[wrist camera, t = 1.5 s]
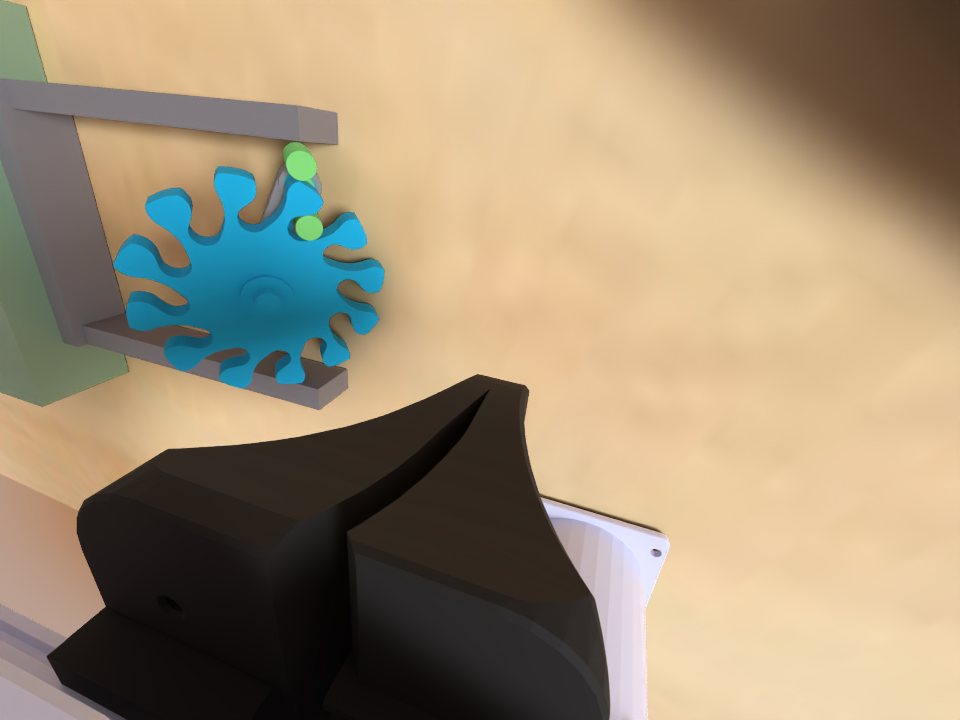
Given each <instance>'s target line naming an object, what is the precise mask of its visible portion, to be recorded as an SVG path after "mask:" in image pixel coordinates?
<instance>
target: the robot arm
mask: <svg viewBox="0 0 960 720" xmlns="http://www.w3.org/2000/svg"><path fill="white" fill-rule="evenodd" d="M528 396H529V390H528V388H527V387H526V386H525V385H521V384H517V383H513V382H508V381H504V380H500V379H496V378H492V377H487V376H483V375H479V374H477V375H475V376H472V377H470V378H468V379H466V380H464V381H462V382H460V383H458V384H456V385H453V386H451V387H449V388H447V389H445V390H443V391H441V392H439V393H437V394H435V395H432V396H430V397H428V398H426V399H424V400H421V401H419V402H416V403H414V404H411V405H409V406H407V407H404V408H402V409H399V410H397V411H394V412H392V413H389V414H386V415H383V416H380V417H377V418H374V419H371V420H368V421H364V422H361V423H358V424H354V425H351V426H347V427H343V428H338V429H333V430H329V431H324V432H320V433H315V434H310V435H306V436H301V437H295V438H288V439H282V440H275V441H267V442H259V443H251V444H241V445H230V446H214V447H199V448H182V449H167V450H165V451H164V452H162V453H160V454H159V455H157V456H155V457H154V458H152V459H151V460H149V461H147V462H146V463H144V464H142V465H141V466H139V467H138V468H136V469H134V470H133V471H131V472H129V473H128V474H126V475H125V476H123V477H121V478H120V479H118V480H117V481H115V482H113V483H112V484H110V485H108V486H107V487H105V488H104V489H102V490H100V491H99V492H97V493H95V494H94V495H92V496H91V497H89V498H87V499H86V500H84V502H83V504H82V506H81V508H80V510H79V512H78V516H77V535H78V538H79V541H80V545H81V548H82V551H83V553H84V556H85V558H86V560H87V563H88V565H89V567H90V570H91V572H92V574H93V577H94V579H95V582H96V584H97V586H98V589H99V591H100V594H101V596H102V598H103V601H104V603H105V605H106V607H105V608H104V609H102V610H101V611H100V612H99V613H98V614H97V615H95V616H94V617H93V618H92V619H90V620H89V621H88V622H87V623H86V624H84V625H83V626H82V627H81V628H80V629H78V630H77V631H76V632H75V633H74V634H72V635H71V636H70V637H69V638H66V637H64V636H62V635H60V634H58V633H56V632H54V631H52V630H50V629H48V628H46V627H44V626H42V625H41V624H39V623H37V622H35V621H33V620H31V619H29V618H27V617H25V616H23V615H21V614H19V613H17V612H15V611H13V610H11V609H9V608H7V607H5V606H4V605H1V604H0V720H648V706H647V667H646V627H645V608H646V606H647V603H648V601H649V598H650V596H651V593H652V591H653V588H654V586H655V583H656V581H657V578H658V576H659V573H660V571H661V568H662V566H663V563H664V561H665V558H666V556H667V553H668V551H669V547H670V543H669V539H668V537H667V536H666V535H664V534H662V533H659V532H656V531H653V530H649V529H646V528H643V527H639V526H636V525H632V524H629V523H626V522H622V521H619V520H616V519H612V518H609V517H606V516H602V515H599V514H596V513H592V512H589V511H586V510H582V509H579V508H575V507H572V506H569V505H565V504H562V503H559V502H555V501H552V500H549V499H545V498H542V497H540V494H539V491H538V488H537V485H536V482H535V479H534V476H533V472H532V469H531V465H530V460H529V456H528V450H527V445H526V438H525V428H524V420H525V414H526V408H527V402H528ZM652 549H658V550H659V551H654V550H652Z"/></svg>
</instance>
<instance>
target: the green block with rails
mask: <svg viewBox="0 0 960 720" xmlns="http://www.w3.org/2000/svg"><path fill="white" fill-rule="evenodd" d="M72 115H74V116H83V117H92V118H100V119H109V120H118V121H126V122H135V123H144V124H153V125H161V126H170V127H179V128H187V129H196V130H205V131H214V132H222V133H231V134H240V135H248V136H257V137H266V138H275V139H283V140H292V141H301V142H314V143H327V144H338V125H337V113H335V112H330V111H324V110H319V109H313V108H308V107H302V106H297V105H286V104H275V103H264V102H253V101H242V100H231V99H220V98H209V97H199V96H188V95H177V94H166V93H155V92H144V91H133V90H122V89H111V88H100V87H90V86H79V85H68V84H57V83H47V80H46V76H45V73H44V69H43V66H42V62H41V59H40V55H39V52H38V48H37V45H36V41H35V37H34V34H33V30H32V27H31V23H30V20H29V16H28V13H27V9H26V6H24V5H20V4H16V3H12V2H8V1H5V0H0V392H1V393H3V394H6V395H9V396H12V397H15V398H18V399H21V400H24V401H27V402H30V403H33V404H36V405H38V406H41V407H43V406H46V405H48V404H51V403H53V402H55V401H58V400H60V399H63V398H65V397H68V396H70V395H73V394H75V393H78V392H80V391H83V390H85V389H88V388H90V387H93V386H95V385H97V384H100V383H102V382H105V381H107V380H110V379H112V378H115V377H117V376H120V375H122V374H125V373H127V372H129V370H128V367H127V363H126V360H125V356H124V355H127V356H131V357H134V358H138V359H141V360H145V361H148V362H152V363H155V364H159V365H162V366H166V367H170V368H173V369H177V368H176V367H174V366H173V365H172V364H171V363H170V362H169V361H168V360H167V358H166V357H165V355H164V348H165V341H166V340H167V339H169V338H170V337H173V336H177V335H185V336H191V337H196V338H204V337H207V336H209V335H210V334H207V333H203V332H199V331H195V330H191V329H187V328H183V327H179V326H175V325H168V326H162V327H158V328H155V329H152V330H148V331H138V330H134V329H131V328H130V327H129V324H128V321H127V316H126V313H125V309H124V306H123V302H122V298H121V294H120V291H119V287H118V283H117V280H116V276H115V272H114V268H113V265H112V261H111V257H110V254H109V250H108V246H107V242H106V239H105V235H104V231H103V227H102V224H101V220H100V216H99V213H98V209H97V205H96V201H95V198H94V194H93V190H92V187H91V183H90V179H89V175H88V172H87V168H86V164H85V160H84V157H83V153H82V149H81V146H80V142H79V138H78V134H77V131H76V127H75V123H74V120H73V116H72ZM246 352H247V351H246V350H245V349H242V348H231V349H226V350H222V351H218V352H215V353H213V354H210V355H209V356H207V357H205V358H204V359H203V360H201V361H200V362H199V363H198V364H197V366H196V367H194V368H193V369H190V370H187V371H184V372H187V373H191V374H194V375H198V376H201V377H205V378H208V379H212V380H215V381H219V382H222V381H221V380H219V367H220V364H221V363H222V361H224V360H225V359H227V358H230V357H235V356H240V355H243V354H245V353H246ZM285 355H286V354H285V353H281V352H277V351H273V352H272V353H270V354H269V355H267V356H266V357H264V358H263V359H262V360H261V361H260V362H259V363H258V364H257V365H256V367H255V369H254V371H253V374H252V380H251V383H250V384H249V385H248V386H247V387H245V388H243V389H247V390H250V391H254V392H257V393H261V394H264V395H268V396H271V397H275V398H278V399H282V400H285V401H289V402H292V403H296V404H299V405H303V406H306V407H310V408H313V409H317V410H320V409H322V408H323V407H324V406H326V405H327V404H328V403H329V402H331V401H332V400H333V399H335V398H336V397H337V396H338V395H340V394H341V393H342V392H344V391H345V390H346V389H348V382H347V369H344V368H340V367H336V366H330V367H328V366H326V365H325V364H324V363H321V362H317V361H313V360H309V359H305V358H301V357H300V360H301V361H302V363H303V367H304V372H305V379H304V381H303V382H302V383H297V384H280V383H277V381H276V375H275V364H276V362H277V361H278V360H280V359H281V358H282V357H284V356H285ZM177 370H178V369H177ZM222 383H224V382H222Z"/></svg>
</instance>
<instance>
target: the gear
mask: <svg viewBox="0 0 960 720" xmlns="http://www.w3.org/2000/svg"><path fill="white" fill-rule="evenodd" d="M283 159H284V164H283V165H282V166H281V168H280V169H279V171H278V174H277V177H276V179H275V182H274V185H273V188H272V191H271V193H270V196H269V199H268V202H267V205H266V208H265V210H264V213H263V216H262V219H261V222H260V223H259V224H248V223H246V222H244V221H243V220H242V219H241V218H240V217H239V216H238V212H239V211H240V210H241V209H242V208H243V207H244V206H246V205H247V204H249V203H250V202H251V201H252V200H253V199H254V197H255V195H256V184H255V179H254V176H253V174H252V173H249V172H247V171H245V170H242V169H238V168H232V167H221V166H218V167H217V169H216V171H215V174H214V187H215V190H216V192H217V194H218V196H219V197H220V199H221V202H222V204H223V207H224V212H225V216H224V221H223V224H222V227H221V230H220V232H219V233H218V234H217V235H215V236H213V237H203V236H200V235H198V234H196V233H195V232H194V231H193V230H192V229H191V227H190V224H189V223H190V220H191V215H192V207H193V205H192V201H191V198H190V197H189V195H188V194H187V193H186V192H185V191H184V190H183V189H181V188H171V189H166V190H163V191H160V192H157V193H155V194H153V195H151V196H149V197H148V199H147V201H146V204H145V207H146V212H147V214H148V216H149V217H150V218H151V219H152V220H153V221H154V222H155V223H157V224H158V225H160V226H162V227H164V228H165V229H167V230H168V231H169V232H170V233H172V234H173V235H174V236H175V237H176V238H177V239H178V240H179V241H180V243H181V244H182V245H183V247H184V248H185V250H186V252H187V254H188V257H189V259H190V262H191V264H190V265H189V266H187V267H185V268H174V267H171V266H169V265H167V264H166V263H165V262H164V261H163V260H162V258H161V256H160V254H159V251H158V249H157V247H156V246H155V244H154V243H153V242H152V241H150V240H149V239H147V238H145V237H143V236H140V235H136V234H134V235H132V236H131V237H129V238H128V239H127V240H126V241H125V242H124V243H123V245H122V246H121V248H120V250H119V252H118V255H117V257H116V259H115V262H114V264H113V266H114V267H115V269H116V270H118V271H119V272H121V273H122V274H125V275H127V276H131V277H139V278H146V279H150V280H154V281H157V282H160V283H162V284H164V285H167V286H169V287H170V288H172V289H173V290H175V291H177V292H178V293H179V294H181V295H182V296H183V297H185V298H186V299H187V300H188V303H187V304H185V305H183V306H172V305H169V304H167V303H166V302H164V301H163V300H161V299H160V298H158V297H157V296H155V295H154V294H151V293H149V292H143V291H138V292H132V293H131V295H130V298H129V301H128V304H127V308H126V316H127V321H128V324H129V327H130V328H131V329H134V330H138V331H148V330H152V329H155V328H158V327H162V326H168V325H185V326H192V327H196V328H201V329H205V330H207V331H208V332H210V333H211V334H210V335H209V336H207V337H204V338H196V337H191V336H185V335H177V336H173V337H170V338H169V339H167V340H166V341H165V348H164V355H165V357H166V358H167V360H168V361H169V362H170V363H171V364H172V365H173V366H174V367H176V368H177V369H178V370H179V371H187V370H190V369H193V368H194V367H196V366H197V364H198V363H199V362H200V361H201V360H203V359H204V358H205V357H207V356H209V355H210V354H213V353H215V352H218V351H222V350H226V349H231V348H242V349H245V350H246V351H247V352H246V353H245V354H243V355H240V356H235V357H230V358H227V359H225V360H224V361H222V363H221V364H220V367H219V380H221V381H222V382H224V383H226V384H228V385H231V386H234V387H238V388H242V389H243V388H245V387H247V386H248V385H249V384H250V383H251V380H252V374H253V371H254V369H255V367H256V365H257V364H258V363H259V362H260V361H261V360H262V359H263V358H264V357H266V356H267V355H269V354H270V353H272V352H273V351H277V350H282V351H286V352H288V353H287V354H286V355H285V356H284V357H282V358H281V359H280V360H278V361H277V362H276V364H275V375H276V381H277V383H280V384H297V383H302V382H303V381H304V379H305V372H304V367H303V363H302V361H301V360H300V355H301V352H302V349H303V347H304V345H305V343H306V342H307V341H308V340H309V339H311V338H315V337H318V338H322V339H323V341H322V344H321V346H320V352H321V355H322V359H323V362H324V364H325V365H326V366H328V367H330V366H334V365H337V364H340V363H342V362H344V361H346V360H348V359H349V358H350V353H349V350H348V347H347V345H346V343H345V341H344V340H343V339H341V338H339V337H338V336H336V335H335V334H334V333H333V332H332V330H331V329H330V326H329V320H330V318H331V316H332V315H334V314H336V313H339V312H343V313H346V314H348V315H349V319H350V322H351V324H352V327H353V329H354V331H355V332H357V333H358V334H362V335H365V334H366V333H368V332H369V331H370V330H371V329H372V328H373V327H374V326H375V325H376V323H377V322H378V320H379V318H378V316H377V314H376V312H375V309H374V308H373V307H372V306H371V305H369V304H366V303H358V302H355V301H352V300H350V299H348V298H346V297H345V296H344V295H343V294H341V293H340V292H339V291H338V290H337V286H338V284H339V283H340V282H341V281H343V280H346V279H351V280H354V281H356V282H357V283H358V284H359V285H360V286H361V288H362V289H363V290H365V291H366V292H369V293H376V292H379V291H380V289H381V287H382V284H383V279H384V269H383V267H382V266H381V264H380V262H378V261H376V260H374V259H367V260H364V261H361V262H357V263H342V262H338V261H334V260H332V259H329V258H326V257H325V256H323V252H324V250H325V249H326V248H327V247H328V246H330V245H334V244H337V245H341V246H343V247H346V248H349V249H359V248H362V247H363V246H365V245H366V244H367V239H366V235H365V232H364V229H363V227H362V225H361V224H360V222H359V220H358V218H357V217H356V215H355V213H352V212H348V213H344V214H342V215H341V216H339V217H338V218H337V220H336V221H335V222H334V223H332V224H331V225H330V226H328V227H326V228H325V229H323V226H322V223H321V221H320V218H319V216H318V214H317V212H318V211H319V210H320V209H321V207H322V205H323V199H322V197H321V192H322V184H321V181H320V179H319V177H318V175H317V173H316V170H317V166H316V162H315V160H314V158H313V156H312V155H311V153H310V151H309V149H308V148H307V147H306V146H305V145H303V144H302V143H299V142H292V143H289V144H288V145H286V146H285V148H284V150H283Z"/></svg>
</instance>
